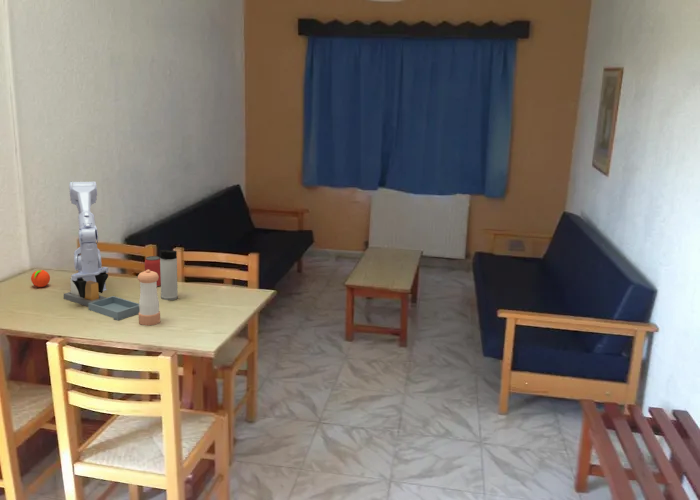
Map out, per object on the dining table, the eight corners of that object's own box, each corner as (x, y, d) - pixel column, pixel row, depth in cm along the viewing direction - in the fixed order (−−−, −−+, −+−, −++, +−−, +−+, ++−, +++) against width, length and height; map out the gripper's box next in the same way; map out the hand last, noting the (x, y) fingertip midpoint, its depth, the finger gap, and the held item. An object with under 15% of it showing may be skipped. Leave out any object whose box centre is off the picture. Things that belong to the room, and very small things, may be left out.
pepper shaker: (148, 327, 216) (146, 273, 212) (134, 322, 220) (132, 270, 215) (164, 321, 222) (163, 269, 218) (150, 316, 226) (149, 265, 221)
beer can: (146, 288, 258) (145, 260, 255) (143, 283, 263) (143, 256, 261) (163, 286, 261) (162, 259, 258) (159, 282, 266) (159, 255, 264)
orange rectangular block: (91, 300, 238) (90, 280, 236) (99, 303, 236) (98, 282, 234) (84, 302, 236) (83, 282, 234) (92, 305, 234) (91, 284, 232)
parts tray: (113, 303, 238) (113, 295, 237) (142, 312, 230) (142, 304, 229) (88, 310, 229) (88, 303, 228) (117, 320, 221) (117, 312, 220)
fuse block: (80, 295, 245) (79, 289, 244) (106, 303, 237) (106, 297, 236) (63, 299, 239) (63, 293, 239) (90, 308, 231) (90, 302, 231)
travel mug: (157, 299, 245) (155, 250, 240) (168, 295, 251) (166, 246, 246) (170, 302, 242) (169, 252, 238) (180, 297, 248) (180, 248, 244)
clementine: (44, 290, 249) (43, 273, 247) (26, 289, 249) (25, 272, 247) (53, 284, 257) (52, 267, 255) (36, 283, 257) (35, 267, 255)
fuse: (78, 296, 242) (77, 276, 240) (85, 298, 240) (84, 278, 238) (71, 298, 240) (70, 278, 238) (78, 300, 238) (77, 280, 236)
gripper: (79, 265, 224) (81, 301, 227) (113, 258, 236) (114, 292, 239) (66, 262, 228) (69, 297, 231) (100, 254, 240) (102, 288, 243)
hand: (91, 294), depth 235 cm, fingers open, 7 cm apart
